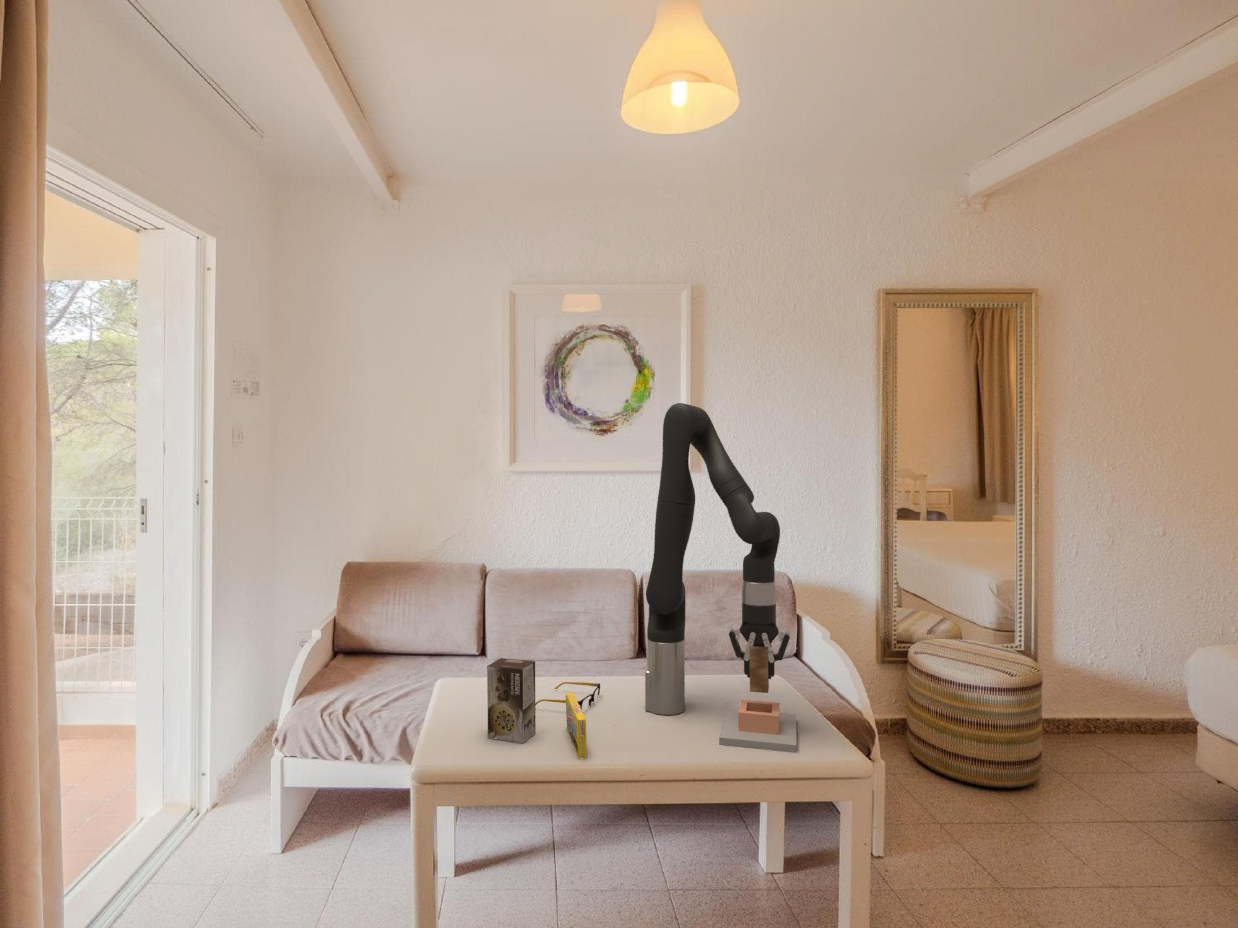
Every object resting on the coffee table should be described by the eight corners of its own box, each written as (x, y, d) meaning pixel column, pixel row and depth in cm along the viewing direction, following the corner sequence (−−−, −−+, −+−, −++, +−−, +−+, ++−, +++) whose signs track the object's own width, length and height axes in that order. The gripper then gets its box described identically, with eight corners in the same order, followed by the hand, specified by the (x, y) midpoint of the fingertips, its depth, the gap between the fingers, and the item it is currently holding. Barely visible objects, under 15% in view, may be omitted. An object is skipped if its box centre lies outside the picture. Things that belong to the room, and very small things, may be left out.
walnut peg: (749, 691, 145) (749, 646, 145) (750, 685, 149) (750, 641, 149) (768, 692, 144) (767, 647, 144) (768, 687, 148) (768, 643, 148)
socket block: (719, 744, 140) (719, 718, 140) (727, 714, 157) (727, 691, 157) (796, 752, 136) (796, 725, 136) (796, 720, 153) (795, 697, 153)
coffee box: (536, 732, 146) (536, 660, 146) (523, 744, 140) (523, 668, 140) (500, 727, 149) (500, 656, 149) (486, 738, 143) (486, 664, 143)
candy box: (565, 729, 148) (565, 692, 149) (574, 728, 149) (574, 692, 149) (577, 759, 133) (577, 718, 133) (587, 758, 133) (587, 717, 133)
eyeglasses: (583, 717, 157) (583, 700, 157) (529, 710, 161) (529, 694, 161) (603, 698, 170) (603, 682, 170) (552, 692, 175) (552, 677, 175)
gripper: (725, 602, 145) (725, 680, 145) (791, 605, 142) (792, 685, 141) (728, 596, 152) (728, 670, 152) (791, 599, 149) (792, 674, 149)
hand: (759, 676), depth 147 cm, fingers closed on walnut peg, 4 cm apart
